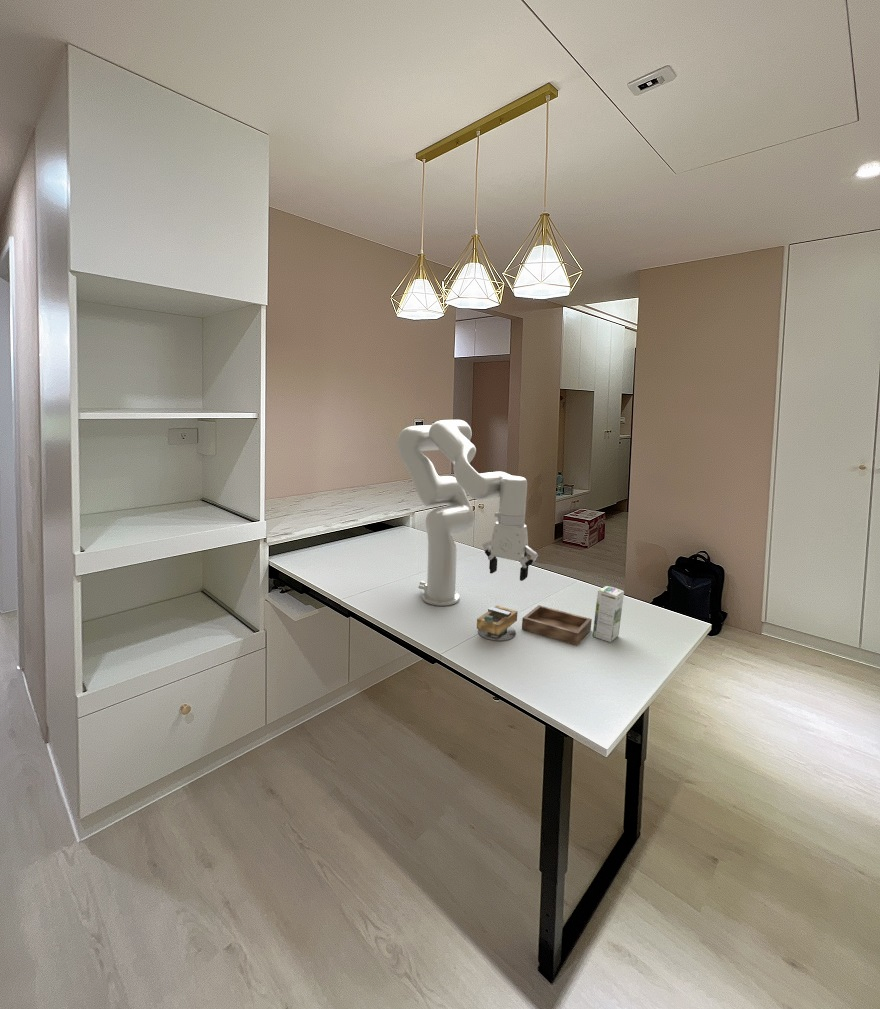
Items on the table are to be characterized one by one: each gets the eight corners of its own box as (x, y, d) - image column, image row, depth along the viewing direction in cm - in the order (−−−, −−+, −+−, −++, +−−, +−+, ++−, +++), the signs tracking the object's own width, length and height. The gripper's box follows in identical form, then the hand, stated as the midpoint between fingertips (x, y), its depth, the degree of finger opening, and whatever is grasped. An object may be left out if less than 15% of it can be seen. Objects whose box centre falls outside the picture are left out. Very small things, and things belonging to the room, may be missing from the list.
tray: (521, 629, 159) (522, 617, 159) (537, 615, 169) (538, 605, 169) (576, 645, 150) (578, 633, 150) (590, 630, 160) (591, 619, 159)
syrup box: (600, 630, 160) (604, 584, 157) (619, 636, 157) (624, 590, 154) (592, 636, 156) (596, 590, 153) (611, 643, 152) (617, 595, 149)
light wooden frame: (476, 628, 153) (477, 613, 152) (496, 614, 163) (496, 600, 162) (498, 635, 150) (499, 620, 149) (517, 620, 159) (517, 606, 158)
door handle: (471, 634, 155) (472, 611, 154) (489, 621, 164) (490, 599, 163) (505, 644, 149) (506, 621, 148) (521, 630, 158) (523, 608, 157)
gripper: (478, 516, 154) (475, 572, 158) (534, 527, 145) (529, 586, 149) (491, 512, 160) (487, 566, 164) (545, 521, 151) (540, 578, 155)
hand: (507, 575), depth 157 cm, fingers open, 9 cm apart
